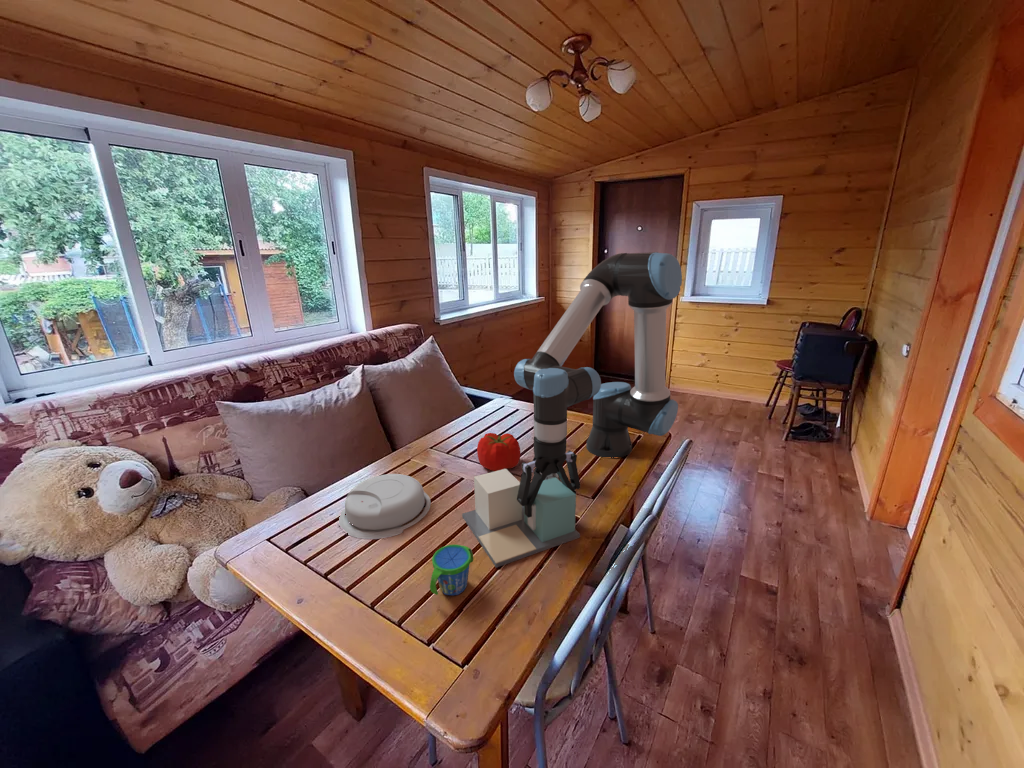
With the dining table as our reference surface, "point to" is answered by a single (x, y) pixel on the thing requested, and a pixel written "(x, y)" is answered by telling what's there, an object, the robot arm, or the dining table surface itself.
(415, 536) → the dining table surface
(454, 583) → the snack cup
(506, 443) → the tomato
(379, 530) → the round ceiling alarm
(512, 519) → the ivory cuboid
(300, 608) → the dining table surface
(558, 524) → the seafoam cube
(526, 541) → the board
